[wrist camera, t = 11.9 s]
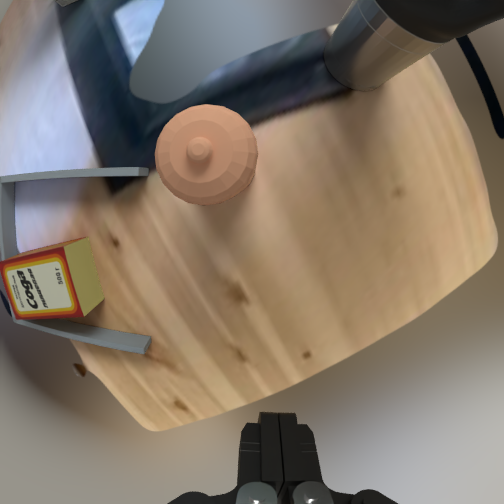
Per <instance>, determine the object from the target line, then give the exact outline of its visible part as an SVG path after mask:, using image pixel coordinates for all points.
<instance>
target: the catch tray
mask: <svg viewBox="0 0 504 504" xmlns="http://www.w3.org/2000/svg"><path fill="white" fill-rule="evenodd" d="M148 171H149V168H140V167H127V168H93V169H74V170H59V171H47V172H36V173H26V174H17V175H9V176H1V177H0V247H1V256H2V261H3V260H5V259H8V258H10V257H13V256H15V255H17V254H18V253H17V243H16V230H15V204H14V188H15V181H26V180H39V179H53V178H71V177H98V176H148ZM8 299H9V298H8ZM9 304H10V301H9ZM10 309H11V313H12V317H13V321H14V322H15V323H18V324H21V325H24V326H27V327H31V328H34V329H37V330H41V331H44V332H47V333H51V334H55V335H58V336H62V337H65V338H69V339H73V340H77V341H81V342H86V343H90V344H94V345H99V346H103V347H108V348H113V349H118V350H123V351H129V352H134V353H140V354H145V352H146V350H147V349H148V347H149V345H150V343H151V336H145V335H138V334H132V333H126V332H120V331H115V330H109V329H104V328H99V327H94V326H89V325H84V324H80V323H75V322H71V321H66V320H62V319H58V318H51V319H25V320H16V318H15V315H14V313H13V310H12V307H11V304H10Z"/></svg>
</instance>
